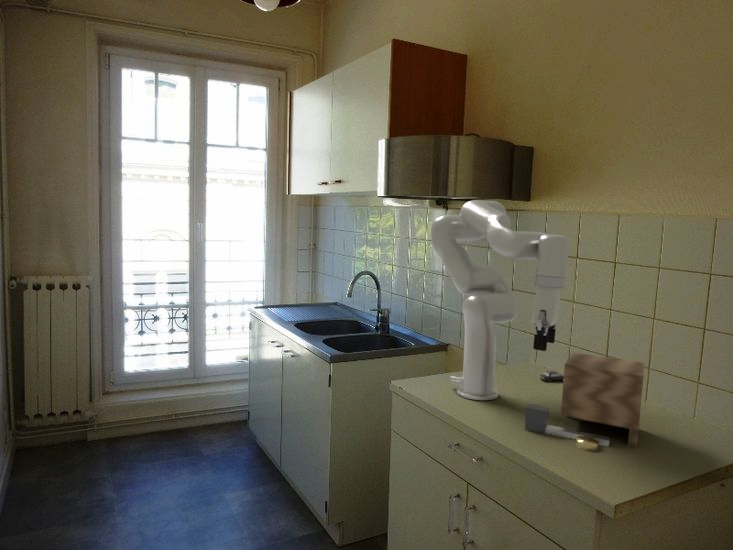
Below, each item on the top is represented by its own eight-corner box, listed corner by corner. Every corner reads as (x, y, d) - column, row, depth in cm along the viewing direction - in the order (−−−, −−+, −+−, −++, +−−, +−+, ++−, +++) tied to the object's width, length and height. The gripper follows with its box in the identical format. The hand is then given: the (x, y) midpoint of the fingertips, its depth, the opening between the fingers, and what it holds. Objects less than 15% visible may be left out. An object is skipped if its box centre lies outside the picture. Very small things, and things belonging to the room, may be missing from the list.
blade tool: (524, 429, 141) (526, 407, 140) (527, 425, 144) (529, 403, 143) (608, 447, 131) (610, 423, 131) (609, 442, 134) (611, 419, 134)
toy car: (566, 382, 184) (568, 359, 183) (535, 383, 181) (537, 360, 180) (559, 378, 188) (561, 356, 187) (529, 380, 185) (530, 357, 184)
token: (574, 448, 131) (575, 441, 130) (576, 441, 135) (576, 434, 135) (597, 453, 129) (597, 445, 128) (597, 445, 133) (598, 438, 133)
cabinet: (559, 431, 140) (564, 364, 138) (567, 414, 152) (572, 352, 150) (636, 447, 132) (643, 376, 130) (638, 428, 144) (644, 362, 142)
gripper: (542, 277, 150) (537, 337, 152) (527, 284, 135) (521, 350, 137) (571, 280, 146) (565, 341, 149) (558, 287, 131) (551, 356, 134)
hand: (544, 345), depth 143 cm, fingers open, 9 cm apart
